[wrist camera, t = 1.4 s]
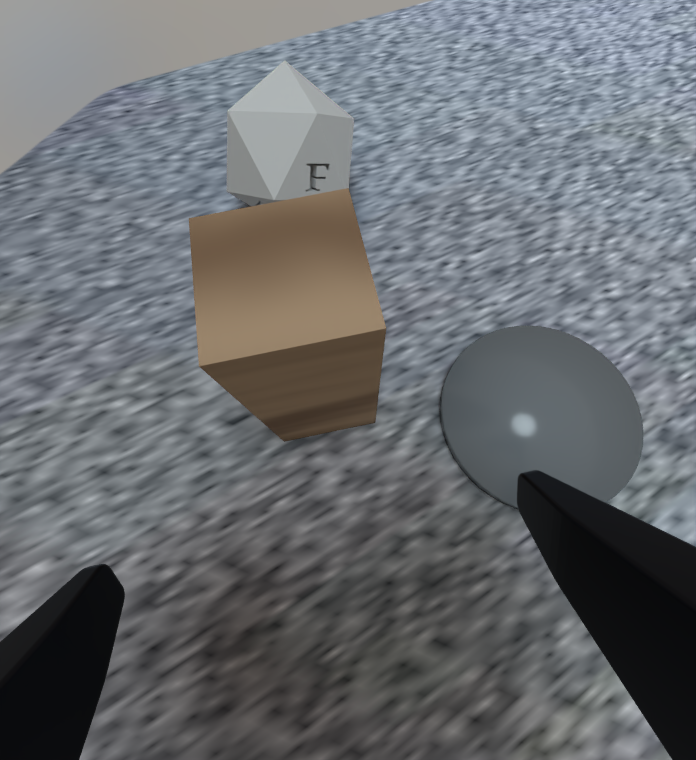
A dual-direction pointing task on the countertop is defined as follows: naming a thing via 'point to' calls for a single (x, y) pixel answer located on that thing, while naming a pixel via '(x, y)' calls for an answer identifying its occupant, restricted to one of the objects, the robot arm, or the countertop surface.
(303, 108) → the die
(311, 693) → the countertop surface
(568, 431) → the slate coaster
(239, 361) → the walnut block
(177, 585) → the countertop surface
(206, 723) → the countertop surface
